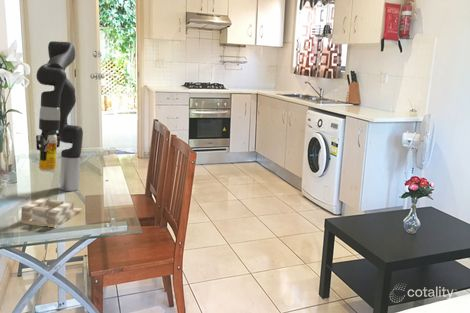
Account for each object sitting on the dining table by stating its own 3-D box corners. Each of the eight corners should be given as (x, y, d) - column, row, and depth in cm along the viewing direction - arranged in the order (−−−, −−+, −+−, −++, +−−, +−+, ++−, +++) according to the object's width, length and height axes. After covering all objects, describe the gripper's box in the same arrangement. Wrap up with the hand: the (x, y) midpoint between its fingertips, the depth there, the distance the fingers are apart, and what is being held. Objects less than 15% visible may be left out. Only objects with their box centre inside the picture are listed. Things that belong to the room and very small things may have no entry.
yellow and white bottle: (49, 172, 162) (50, 135, 160) (35, 170, 163) (37, 133, 161) (58, 170, 168) (60, 134, 166) (45, 168, 169) (47, 132, 167)
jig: (52, 207, 181) (52, 193, 180) (82, 211, 180) (82, 197, 178) (21, 223, 159) (21, 207, 158) (54, 228, 158) (55, 212, 157)
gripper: (51, 116, 170) (49, 155, 172) (29, 117, 156) (28, 160, 158) (68, 118, 169) (65, 158, 171) (48, 120, 155) (46, 163, 157)
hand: (47, 159), depth 165 cm, fingers closed on yellow and white bottle, 6 cm apart
